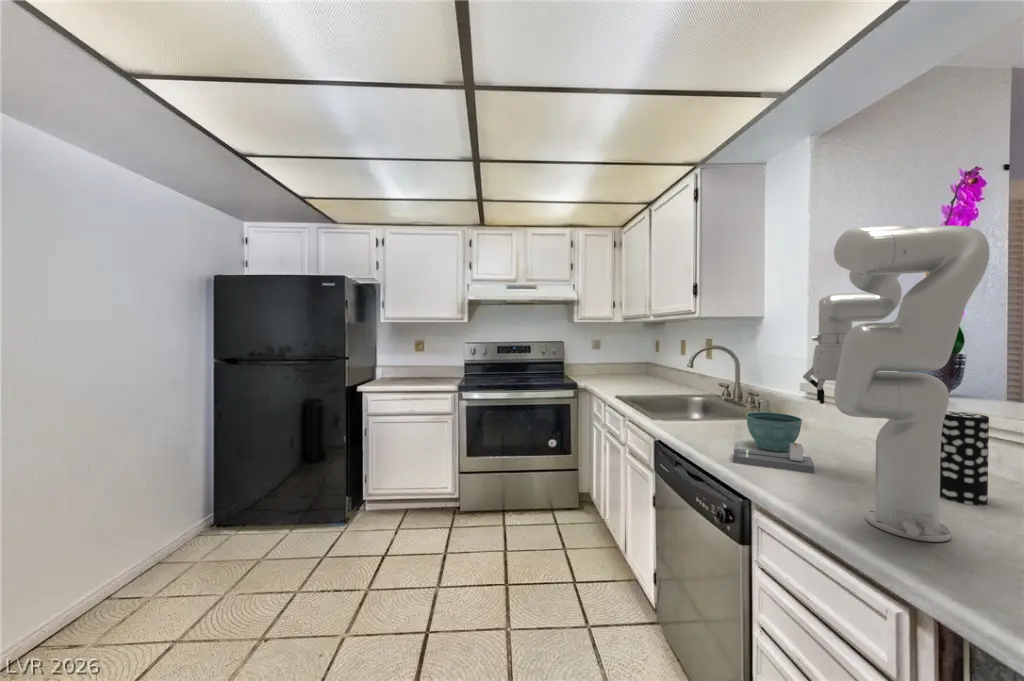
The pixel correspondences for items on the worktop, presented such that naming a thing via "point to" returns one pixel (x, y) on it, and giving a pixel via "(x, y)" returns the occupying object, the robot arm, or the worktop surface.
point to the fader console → (772, 460)
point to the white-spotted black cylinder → (964, 458)
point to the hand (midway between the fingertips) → (834, 403)
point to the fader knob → (796, 452)
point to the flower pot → (773, 430)
